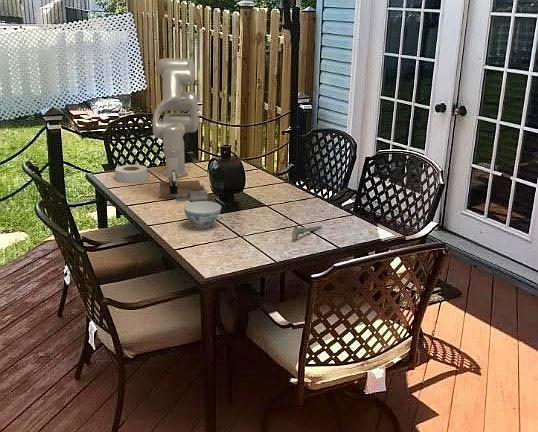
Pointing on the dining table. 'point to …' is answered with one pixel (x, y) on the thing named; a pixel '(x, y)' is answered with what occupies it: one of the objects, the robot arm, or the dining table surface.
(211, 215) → the chinaware
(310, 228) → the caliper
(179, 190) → the walnut rail
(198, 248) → the dining table surface
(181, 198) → the cup bracket
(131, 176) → the roll of tape
